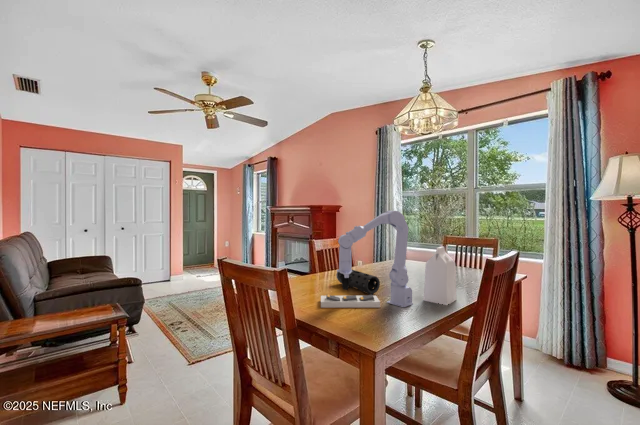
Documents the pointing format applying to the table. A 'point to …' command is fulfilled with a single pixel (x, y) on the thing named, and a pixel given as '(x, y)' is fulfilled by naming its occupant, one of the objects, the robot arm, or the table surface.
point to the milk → (440, 278)
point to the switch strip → (350, 302)
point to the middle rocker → (349, 298)
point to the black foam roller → (362, 282)
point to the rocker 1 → (332, 298)
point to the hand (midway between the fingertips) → (345, 289)
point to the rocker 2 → (367, 298)
